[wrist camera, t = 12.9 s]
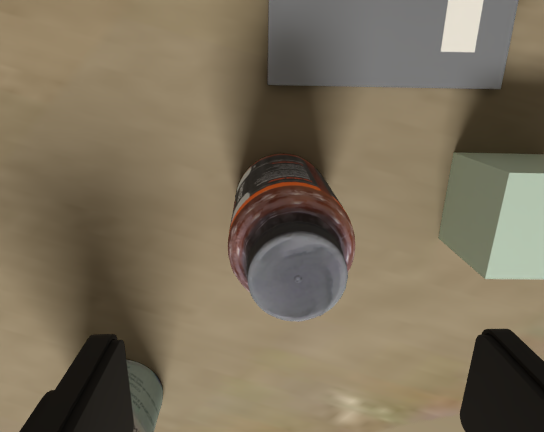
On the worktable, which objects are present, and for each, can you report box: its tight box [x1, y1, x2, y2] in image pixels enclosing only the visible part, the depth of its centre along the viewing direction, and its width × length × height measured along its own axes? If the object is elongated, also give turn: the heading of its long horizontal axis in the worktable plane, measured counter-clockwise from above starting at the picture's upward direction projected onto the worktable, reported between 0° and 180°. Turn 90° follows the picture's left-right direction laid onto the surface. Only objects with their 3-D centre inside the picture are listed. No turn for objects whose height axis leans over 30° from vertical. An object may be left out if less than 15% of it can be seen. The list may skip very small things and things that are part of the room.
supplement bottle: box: [228, 154, 355, 321], centre depth 20 cm, size 6×6×11 cm
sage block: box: [438, 152, 544, 279], centre depth 23 cm, size 6×6×6 cm
